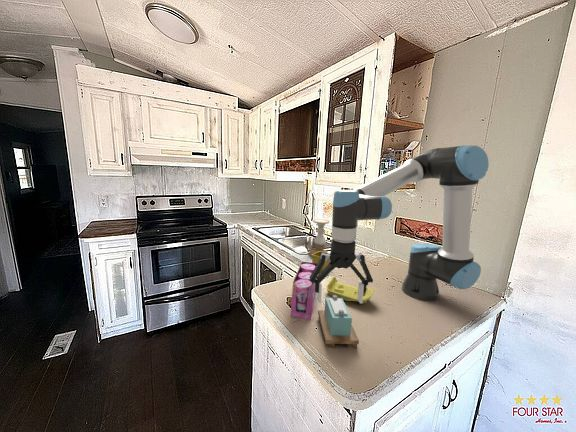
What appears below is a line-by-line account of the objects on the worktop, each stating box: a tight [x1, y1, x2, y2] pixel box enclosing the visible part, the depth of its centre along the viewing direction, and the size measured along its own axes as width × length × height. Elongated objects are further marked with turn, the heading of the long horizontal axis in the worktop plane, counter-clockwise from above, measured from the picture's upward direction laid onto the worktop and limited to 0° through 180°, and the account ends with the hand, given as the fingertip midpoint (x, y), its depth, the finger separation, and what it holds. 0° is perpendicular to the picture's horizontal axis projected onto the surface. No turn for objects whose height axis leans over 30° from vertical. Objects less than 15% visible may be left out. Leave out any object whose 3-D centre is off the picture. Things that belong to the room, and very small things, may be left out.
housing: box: [324, 295, 353, 336], centre depth 79 cm, size 12×6×7 cm, turn 2°
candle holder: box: [307, 218, 330, 259], centre depth 151 cm, size 11×11×24 cm
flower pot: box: [311, 251, 331, 273], centre depth 132 cm, size 9×9×9 cm
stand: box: [317, 309, 360, 350], centre depth 80 cm, size 10×16×3 cm, turn 2°
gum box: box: [290, 261, 319, 321], centre depth 96 cm, size 24×8×14 cm, turn 168°
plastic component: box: [326, 276, 376, 304], centre depth 104 cm, size 20×7×10 cm
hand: (339, 301), depth 79 cm, fingers open, 13 cm apart
